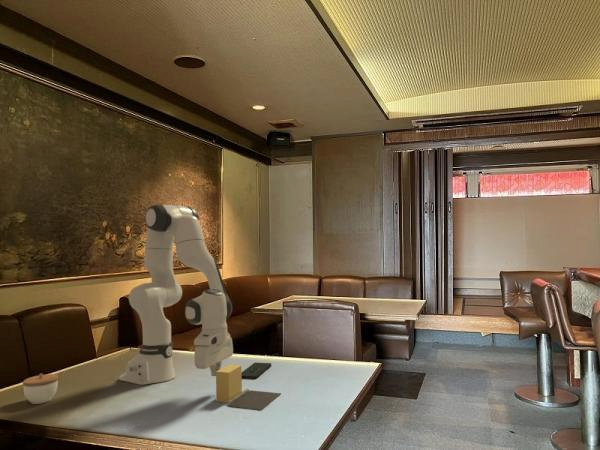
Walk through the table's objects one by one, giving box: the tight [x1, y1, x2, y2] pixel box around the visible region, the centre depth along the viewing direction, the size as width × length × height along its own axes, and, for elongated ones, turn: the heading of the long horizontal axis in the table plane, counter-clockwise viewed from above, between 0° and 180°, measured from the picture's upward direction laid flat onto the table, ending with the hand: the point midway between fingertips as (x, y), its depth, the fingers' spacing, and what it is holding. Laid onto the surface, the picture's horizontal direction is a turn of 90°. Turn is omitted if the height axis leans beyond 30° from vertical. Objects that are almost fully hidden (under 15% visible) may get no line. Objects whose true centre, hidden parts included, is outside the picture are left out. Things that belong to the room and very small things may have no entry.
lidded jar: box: [22, 373, 59, 405], centre depth 155 cm, size 11×11×9 cm
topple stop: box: [226, 388, 282, 411], centre depth 150 cm, size 13×16×1 cm
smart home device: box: [241, 362, 272, 380], centre depth 185 cm, size 8×2×20 cm
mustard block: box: [215, 364, 243, 403], centre depth 154 cm, size 5×9×10 cm, turn 160°
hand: (215, 375), depth 156 cm, fingers closed
